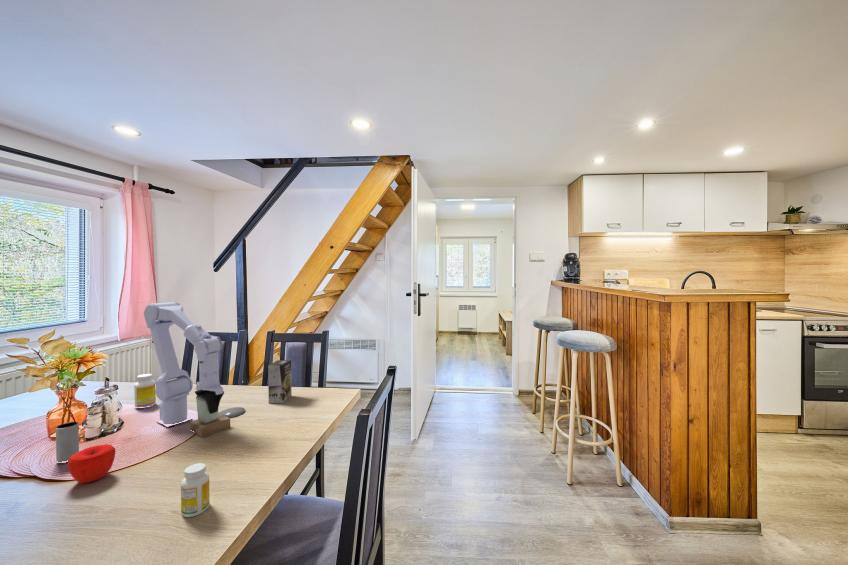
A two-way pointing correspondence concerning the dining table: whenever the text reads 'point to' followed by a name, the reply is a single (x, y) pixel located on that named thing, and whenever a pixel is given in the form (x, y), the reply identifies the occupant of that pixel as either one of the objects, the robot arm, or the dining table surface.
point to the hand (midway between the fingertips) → (209, 411)
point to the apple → (91, 463)
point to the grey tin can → (67, 441)
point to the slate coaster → (232, 412)
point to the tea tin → (205, 410)
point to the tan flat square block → (210, 426)
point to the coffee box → (279, 381)
